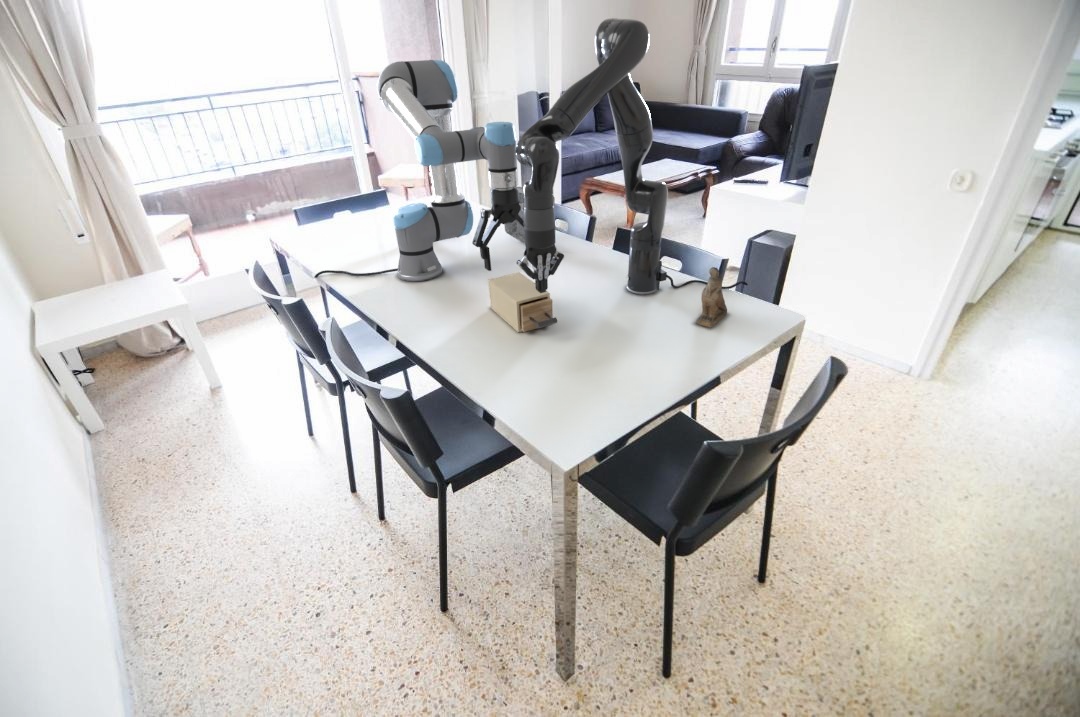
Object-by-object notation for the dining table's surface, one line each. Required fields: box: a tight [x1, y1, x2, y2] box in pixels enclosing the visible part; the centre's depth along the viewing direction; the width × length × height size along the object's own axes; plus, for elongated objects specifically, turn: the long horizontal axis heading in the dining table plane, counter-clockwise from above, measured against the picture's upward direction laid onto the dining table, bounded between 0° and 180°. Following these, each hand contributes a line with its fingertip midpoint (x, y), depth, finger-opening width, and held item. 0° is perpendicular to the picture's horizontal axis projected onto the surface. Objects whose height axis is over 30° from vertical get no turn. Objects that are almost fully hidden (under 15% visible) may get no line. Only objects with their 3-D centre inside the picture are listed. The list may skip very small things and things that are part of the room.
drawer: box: [519, 297, 558, 333], centre depth 139 cm, size 23×9×7 cm, turn 29°
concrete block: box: [503, 186, 556, 244], centre depth 195 cm, size 27×9×20 cm, turn 36°
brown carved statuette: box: [695, 266, 728, 328], centre depth 135 cm, size 12×6×18 cm, turn 136°
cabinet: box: [487, 271, 551, 333], centre depth 143 cm, size 18×10×9 cm, turn 29°
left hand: (509, 264), depth 141 cm, fingers open, 13 cm apart
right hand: (541, 291), depth 128 cm, fingers closed
